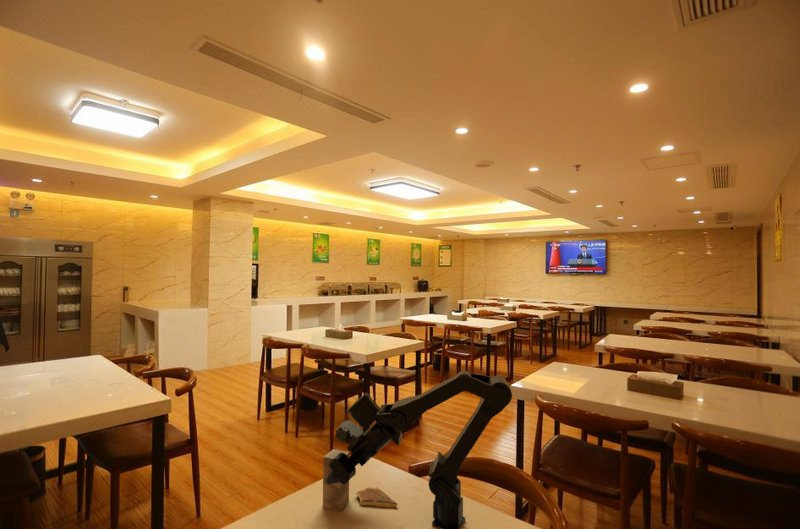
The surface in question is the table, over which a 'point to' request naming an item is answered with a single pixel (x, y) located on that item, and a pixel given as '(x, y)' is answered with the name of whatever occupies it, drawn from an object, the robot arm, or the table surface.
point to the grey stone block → (334, 485)
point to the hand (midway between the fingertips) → (336, 473)
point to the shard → (375, 497)
